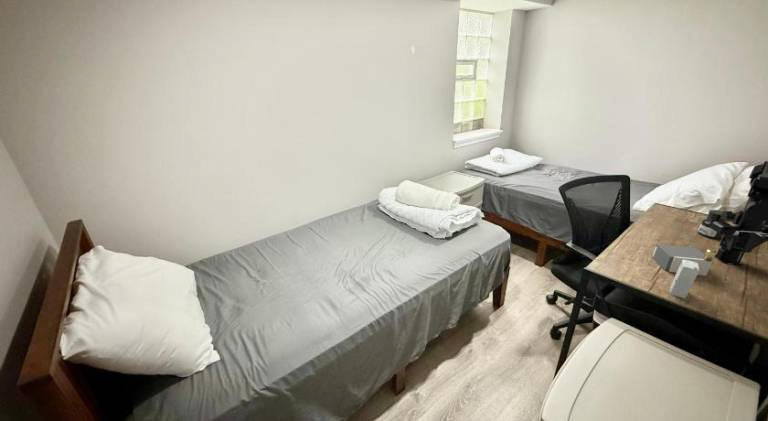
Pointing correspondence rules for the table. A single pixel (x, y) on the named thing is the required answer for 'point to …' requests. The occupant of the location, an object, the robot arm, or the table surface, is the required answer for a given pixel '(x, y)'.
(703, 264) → the side door
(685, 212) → the table surface
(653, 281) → the table surface
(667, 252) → the case
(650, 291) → the table surface
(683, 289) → the skincare box
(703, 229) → the ink bottle
